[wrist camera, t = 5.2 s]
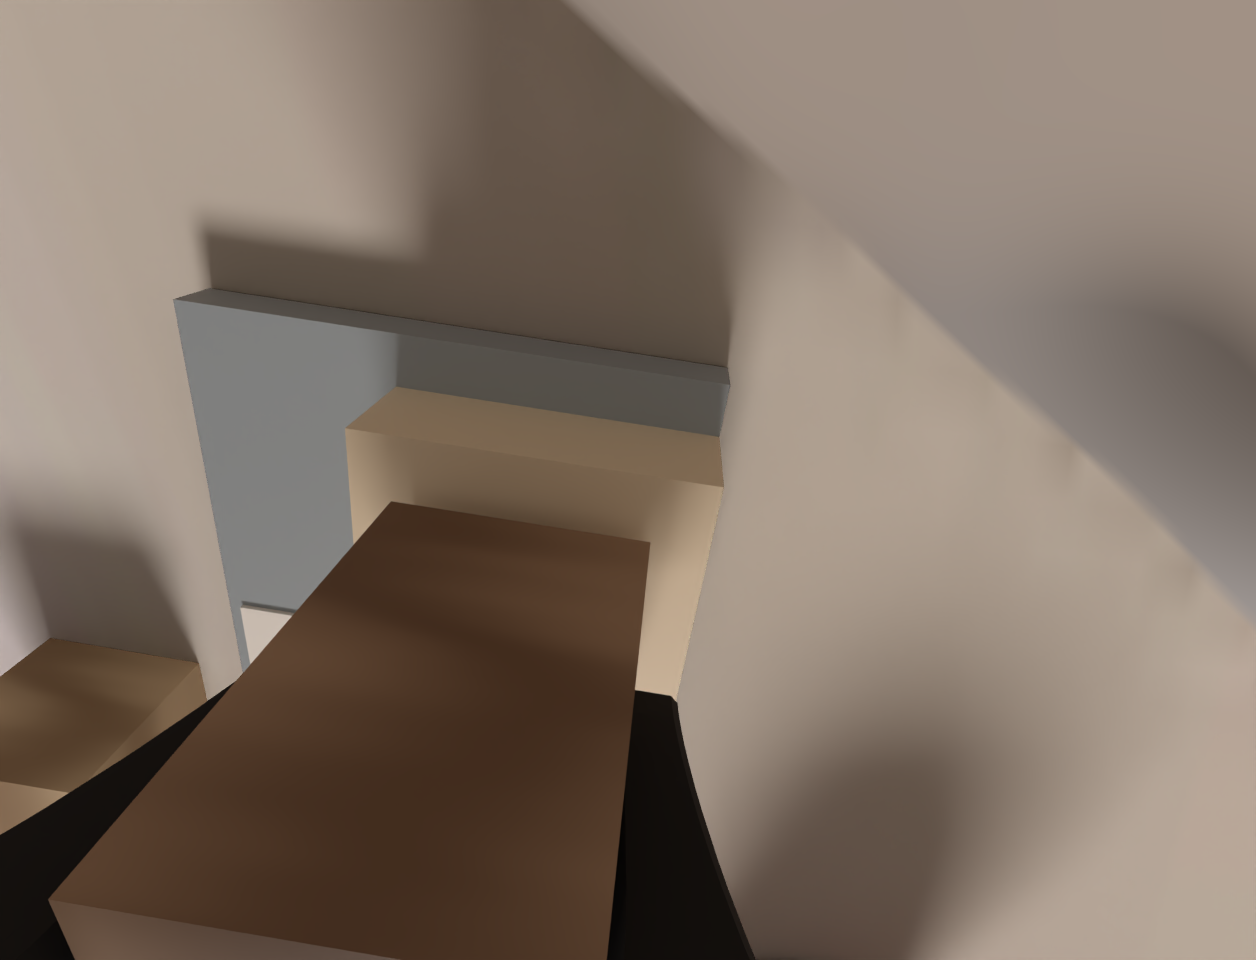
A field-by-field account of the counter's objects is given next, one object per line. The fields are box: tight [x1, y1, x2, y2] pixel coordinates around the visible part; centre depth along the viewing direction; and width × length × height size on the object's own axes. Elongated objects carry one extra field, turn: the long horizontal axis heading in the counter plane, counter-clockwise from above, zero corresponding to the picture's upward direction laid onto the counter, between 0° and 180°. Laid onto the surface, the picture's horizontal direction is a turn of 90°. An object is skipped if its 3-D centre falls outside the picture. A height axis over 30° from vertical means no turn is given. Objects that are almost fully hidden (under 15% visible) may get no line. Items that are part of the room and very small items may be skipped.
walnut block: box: [48, 501, 650, 960], centre depth 8 cm, size 4×4×6 cm
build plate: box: [173, 288, 730, 701], centre depth 14 cm, size 10×12×3 cm
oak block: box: [0, 638, 207, 835], centre depth 17 cm, size 4×4×4 cm
